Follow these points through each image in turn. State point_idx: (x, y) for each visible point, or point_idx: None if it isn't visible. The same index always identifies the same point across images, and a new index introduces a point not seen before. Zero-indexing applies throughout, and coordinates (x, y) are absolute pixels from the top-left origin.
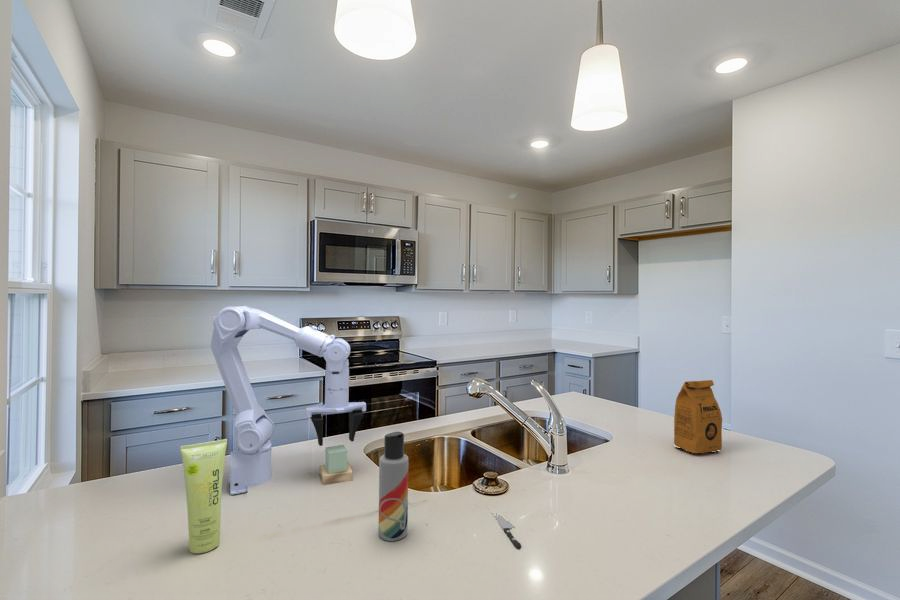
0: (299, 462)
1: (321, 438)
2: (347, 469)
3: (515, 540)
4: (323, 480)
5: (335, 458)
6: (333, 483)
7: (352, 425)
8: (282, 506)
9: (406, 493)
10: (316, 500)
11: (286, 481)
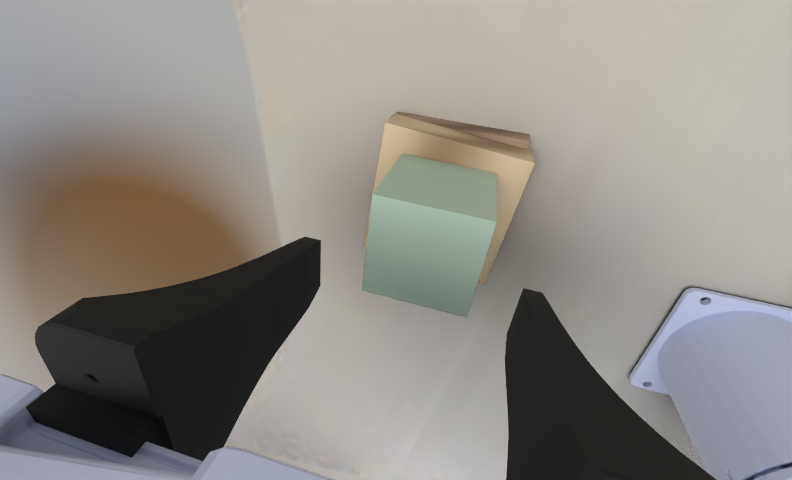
0: (488, 401)
1: (545, 319)
2: None
3: None
4: (531, 156)
5: (454, 195)
6: (485, 133)
7: (246, 305)
8: (787, 88)
9: None
10: (611, 54)
11: (608, 307)
